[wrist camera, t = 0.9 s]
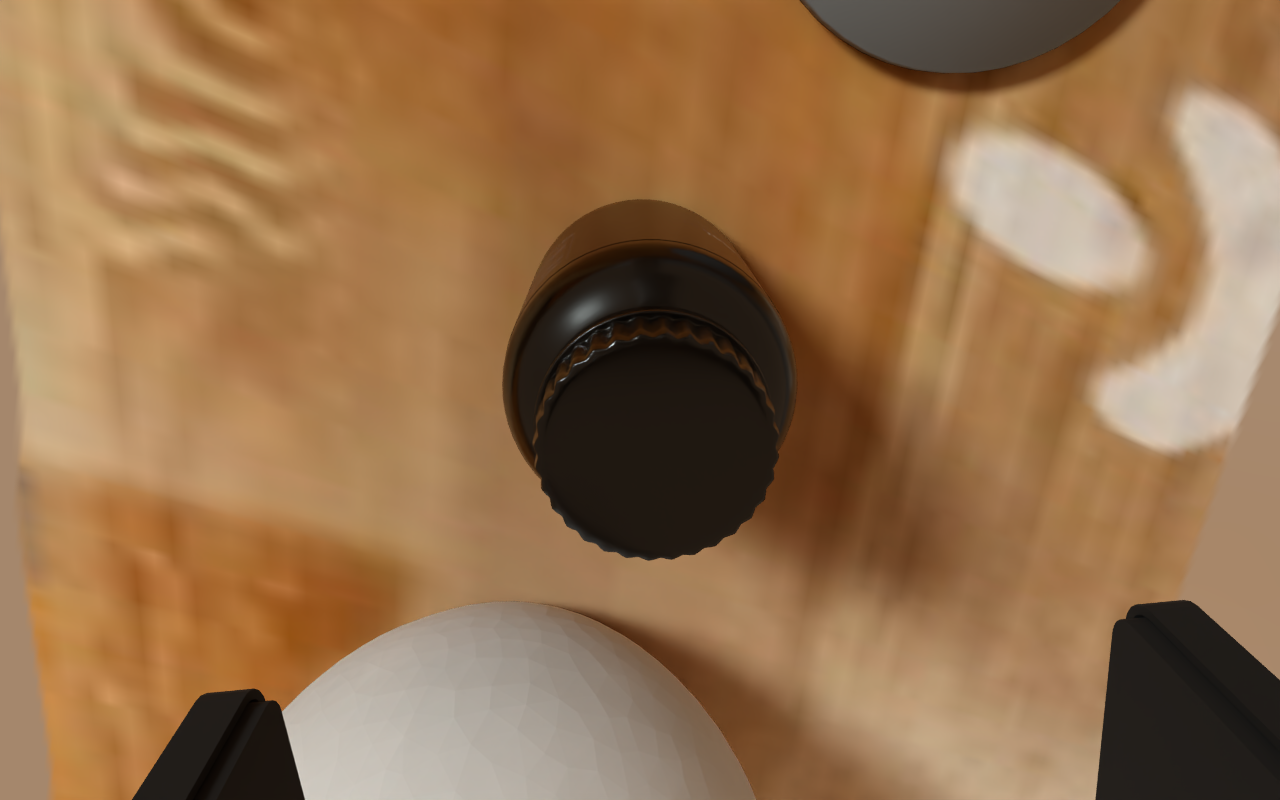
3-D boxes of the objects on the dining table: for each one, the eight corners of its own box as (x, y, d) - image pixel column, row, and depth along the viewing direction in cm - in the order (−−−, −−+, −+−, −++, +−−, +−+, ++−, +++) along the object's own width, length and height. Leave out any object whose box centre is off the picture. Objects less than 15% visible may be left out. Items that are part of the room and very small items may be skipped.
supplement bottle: (779, 232, 28) (895, 344, 17) (707, 430, 30) (767, 646, 19) (563, 163, 27) (534, 234, 16) (504, 373, 30) (443, 564, 18)
